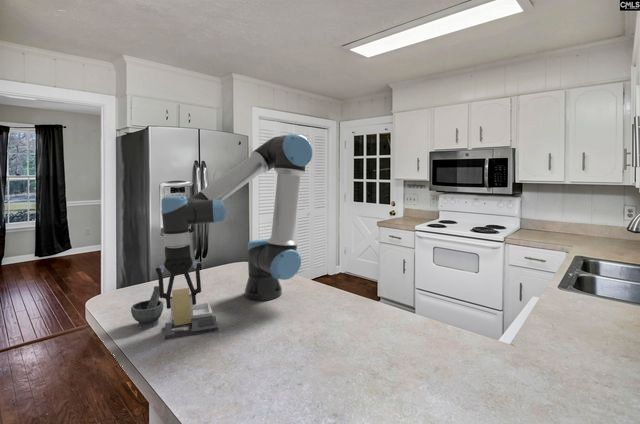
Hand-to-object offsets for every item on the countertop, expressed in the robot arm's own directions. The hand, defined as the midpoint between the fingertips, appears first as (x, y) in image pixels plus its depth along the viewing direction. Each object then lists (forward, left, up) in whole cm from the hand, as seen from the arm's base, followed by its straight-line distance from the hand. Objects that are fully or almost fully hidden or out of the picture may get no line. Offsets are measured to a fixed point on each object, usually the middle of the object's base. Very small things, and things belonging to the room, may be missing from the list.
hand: (182, 315), depth 117 cm
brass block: (0, 0, -2) cm, 2 cm away
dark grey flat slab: (-3, 0, -5) cm, 5 cm away
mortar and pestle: (+10, -9, -5) cm, 15 cm away
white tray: (-4, -11, -5) cm, 13 cm away
